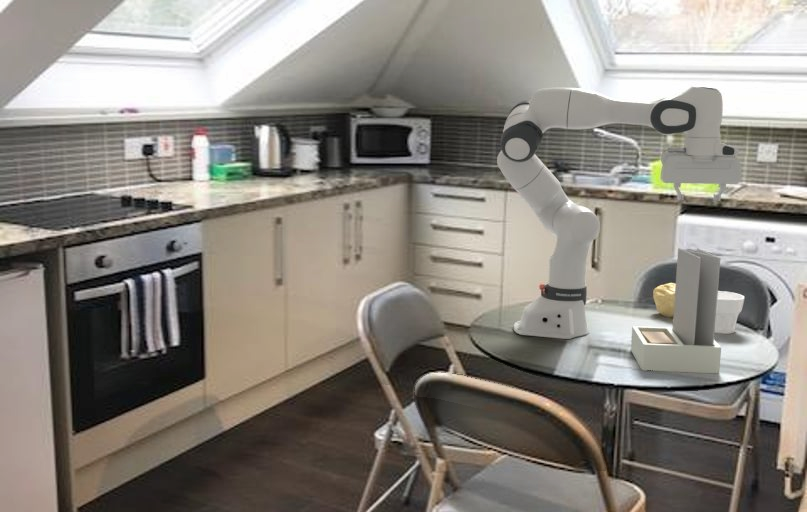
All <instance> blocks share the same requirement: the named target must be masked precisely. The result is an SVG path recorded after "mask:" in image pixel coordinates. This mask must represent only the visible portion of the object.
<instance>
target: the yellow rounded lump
mask: <svg viewBox="0 0 807 512" xmlns="http://www.w3.org/2000/svg"><path fill="white" fill-rule="evenodd" d="M675 287H676V282H675V283H674V282H669V283H665V284H660V285H659V286H657V287H655V288H654V289H653V292H652V293H653V301H654V303H655V307H656V311H657V312H658V313H659V314H660V315H661V316H663V317H667V318H673V315H674V301H675Z"/></svg>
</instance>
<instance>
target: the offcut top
mask: <svg viewBox="0 0 807 512" xmlns="http://www.w3.org/2000/svg"><path fill="white" fill-rule="evenodd" d="M641 334H642V335H643V337H644V339H645V340H646V342H647V343H651V344H674V342H673V341H672V340H671V339H670V338H668V337H667V336H666V335H665V334H664V333H663V332H641Z"/></svg>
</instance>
